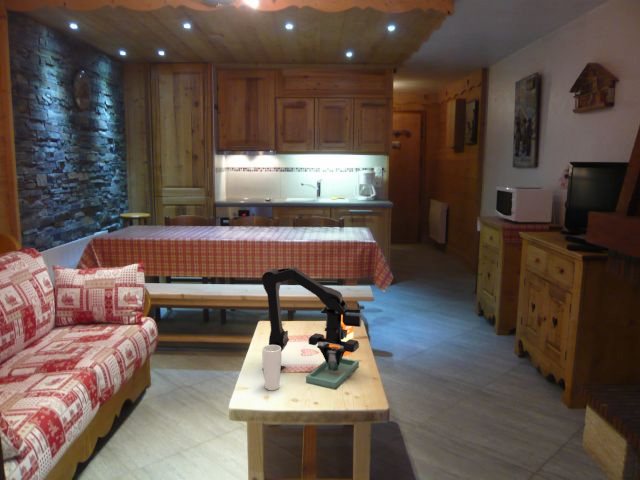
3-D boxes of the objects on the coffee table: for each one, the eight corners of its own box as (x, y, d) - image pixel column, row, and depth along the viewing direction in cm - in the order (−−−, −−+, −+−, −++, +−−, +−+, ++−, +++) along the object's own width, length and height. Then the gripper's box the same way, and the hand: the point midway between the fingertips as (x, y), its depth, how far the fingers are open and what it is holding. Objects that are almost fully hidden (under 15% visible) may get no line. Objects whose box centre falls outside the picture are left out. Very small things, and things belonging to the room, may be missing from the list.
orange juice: (353, 350, 220) (353, 305, 217) (342, 357, 213) (342, 311, 209) (337, 346, 224) (338, 302, 221) (326, 353, 217) (327, 307, 214)
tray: (335, 389, 184) (335, 382, 183) (305, 382, 189) (305, 376, 188) (358, 367, 203) (358, 361, 203) (331, 361, 208) (331, 355, 208)
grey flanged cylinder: (336, 372, 192) (336, 352, 191) (324, 370, 194) (324, 349, 193) (342, 367, 197) (342, 347, 196) (330, 365, 199) (330, 345, 198)
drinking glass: (260, 385, 187) (260, 345, 184) (278, 382, 189) (278, 343, 187) (265, 393, 180) (264, 352, 178) (283, 390, 183) (283, 350, 180)
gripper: (364, 322, 196) (363, 360, 198) (320, 315, 204) (320, 352, 206) (353, 331, 186) (352, 371, 188) (307, 323, 194) (307, 362, 197)
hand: (333, 363), depth 195 cm, fingers closed on grey flanged cylinder, 4 cm apart
